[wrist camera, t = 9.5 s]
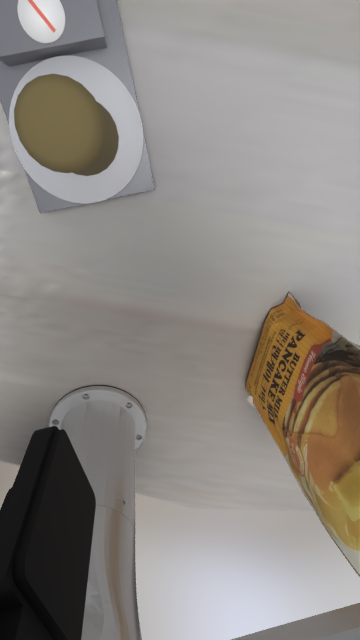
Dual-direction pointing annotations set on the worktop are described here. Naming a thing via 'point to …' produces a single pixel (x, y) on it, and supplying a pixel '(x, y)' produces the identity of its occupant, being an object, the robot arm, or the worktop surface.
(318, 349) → the pancake mix bag
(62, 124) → the cork
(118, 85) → the kitchen scale
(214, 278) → the worktop surface
